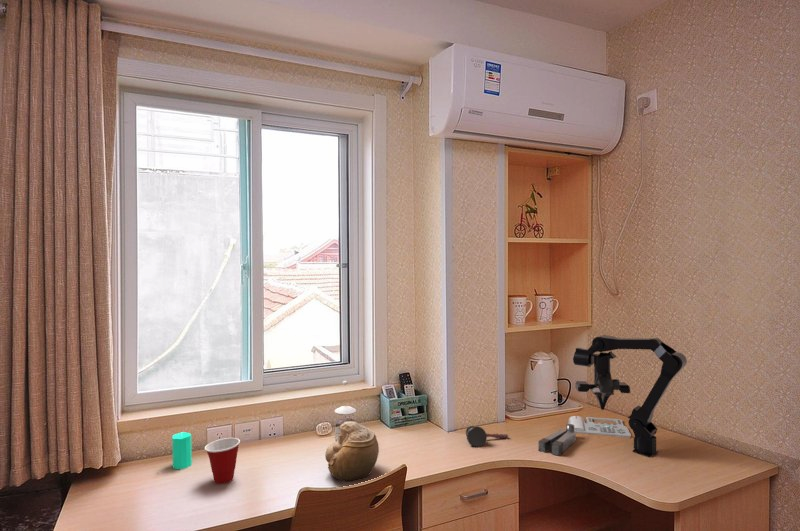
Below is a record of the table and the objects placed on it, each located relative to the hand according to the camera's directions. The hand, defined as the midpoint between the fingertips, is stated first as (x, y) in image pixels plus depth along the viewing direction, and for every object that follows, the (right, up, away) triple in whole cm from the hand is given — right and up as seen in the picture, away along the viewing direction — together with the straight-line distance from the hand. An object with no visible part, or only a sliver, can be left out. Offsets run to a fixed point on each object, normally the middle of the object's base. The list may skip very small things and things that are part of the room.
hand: (602, 409), depth 186 cm
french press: (-98, -14, -1) cm, 98 cm away
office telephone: (+5, -13, +17) cm, 22 cm away
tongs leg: (-16, -12, -5) cm, 21 cm away
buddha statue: (-93, -14, -26) cm, 97 cm away
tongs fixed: (-18, -13, -1) cm, 22 cm away
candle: (-152, -14, -18) cm, 154 cm away
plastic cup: (-134, -14, -29) cm, 138 cm away
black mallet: (-43, -13, +1) cm, 45 cm away
